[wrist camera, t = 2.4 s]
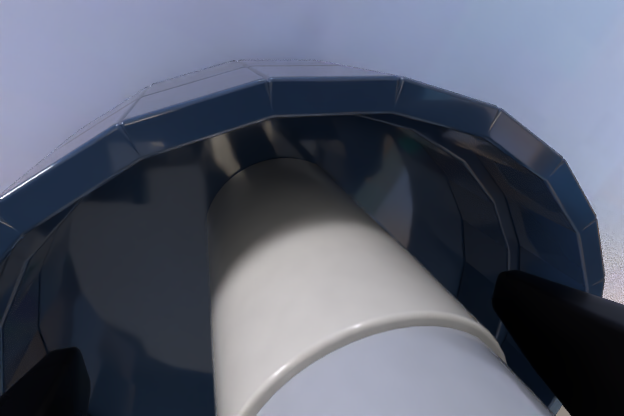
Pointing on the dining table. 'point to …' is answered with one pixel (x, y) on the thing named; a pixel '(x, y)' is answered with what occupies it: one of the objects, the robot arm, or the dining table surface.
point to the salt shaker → (337, 311)
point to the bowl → (227, 163)
